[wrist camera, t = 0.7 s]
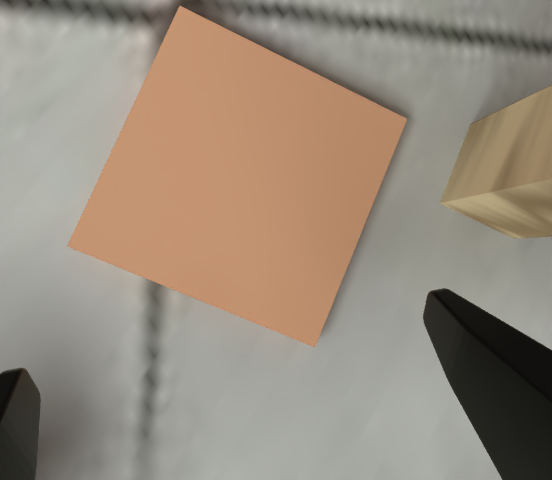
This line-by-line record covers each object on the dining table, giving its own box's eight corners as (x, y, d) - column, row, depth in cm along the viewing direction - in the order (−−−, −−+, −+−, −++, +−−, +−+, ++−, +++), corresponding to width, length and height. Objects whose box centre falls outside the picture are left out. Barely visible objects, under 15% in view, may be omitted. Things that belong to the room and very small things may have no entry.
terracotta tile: (397, 125, 26) (407, 119, 25) (309, 343, 25) (315, 347, 24) (180, 17, 24) (179, 5, 23) (74, 246, 23) (67, 246, 22)
